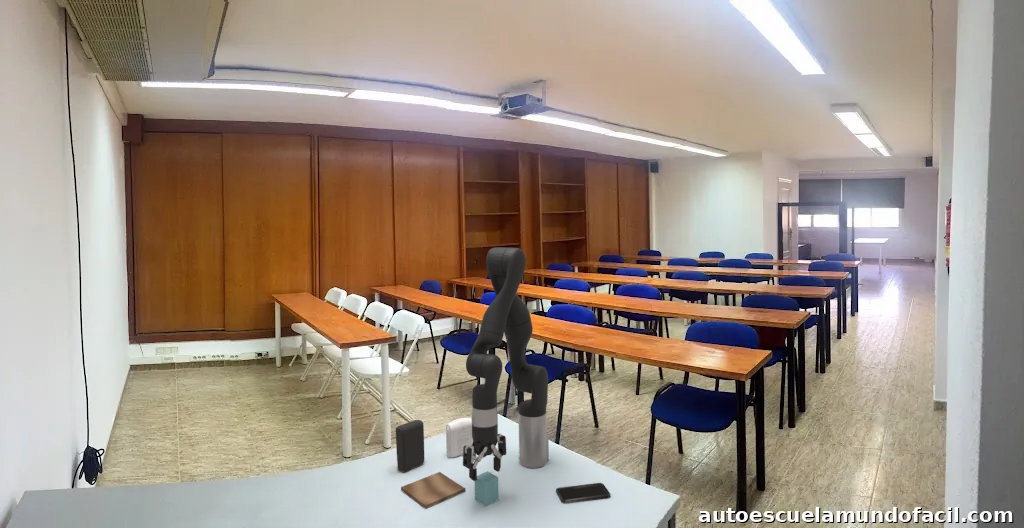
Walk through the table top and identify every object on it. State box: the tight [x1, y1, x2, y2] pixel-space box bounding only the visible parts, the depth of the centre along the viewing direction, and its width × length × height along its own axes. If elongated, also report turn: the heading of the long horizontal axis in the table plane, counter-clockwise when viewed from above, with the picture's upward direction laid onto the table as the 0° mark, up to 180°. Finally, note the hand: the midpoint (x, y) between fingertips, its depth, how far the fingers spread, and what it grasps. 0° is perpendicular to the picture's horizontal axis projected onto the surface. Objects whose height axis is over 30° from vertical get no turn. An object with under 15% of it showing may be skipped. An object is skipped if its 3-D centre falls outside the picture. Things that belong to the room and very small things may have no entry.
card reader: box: [395, 419, 425, 473], centre depth 179 cm, size 9×4×15 cm, turn 136°
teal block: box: [473, 471, 500, 507], centre depth 159 cm, size 5×5×7 cm
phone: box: [555, 482, 611, 505], centre depth 161 cm, size 8×1×15 cm
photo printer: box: [445, 417, 473, 458], centre depth 189 cm, size 10×4×12 cm, turn 123°
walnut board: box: [400, 471, 466, 510], centre depth 164 cm, size 14×14×1 cm
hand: (485, 475), depth 158 cm, fingers open, 8 cm apart
